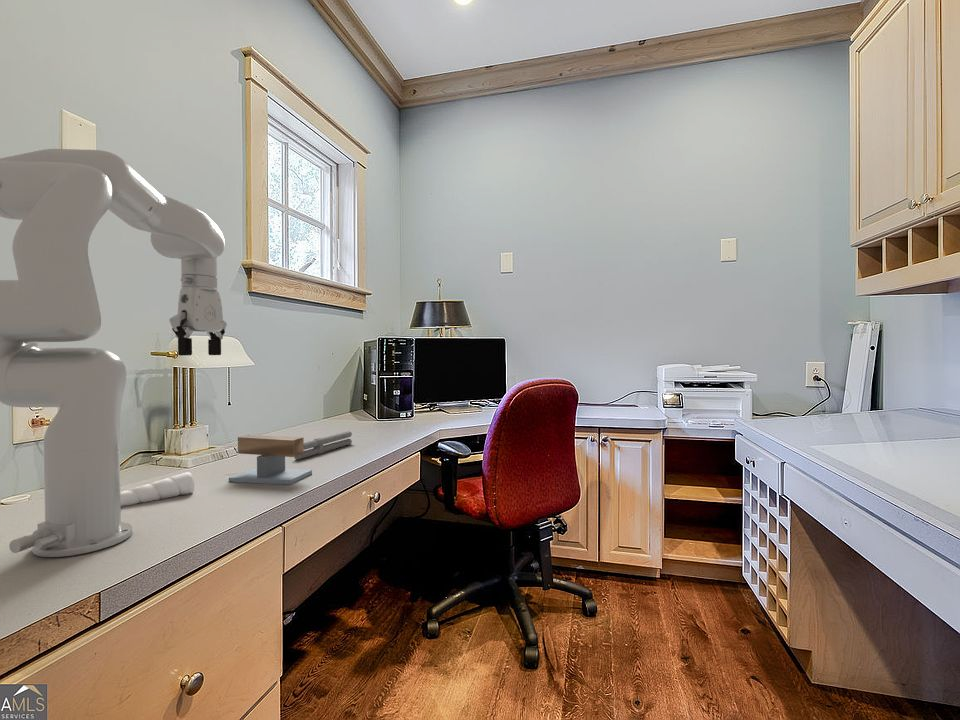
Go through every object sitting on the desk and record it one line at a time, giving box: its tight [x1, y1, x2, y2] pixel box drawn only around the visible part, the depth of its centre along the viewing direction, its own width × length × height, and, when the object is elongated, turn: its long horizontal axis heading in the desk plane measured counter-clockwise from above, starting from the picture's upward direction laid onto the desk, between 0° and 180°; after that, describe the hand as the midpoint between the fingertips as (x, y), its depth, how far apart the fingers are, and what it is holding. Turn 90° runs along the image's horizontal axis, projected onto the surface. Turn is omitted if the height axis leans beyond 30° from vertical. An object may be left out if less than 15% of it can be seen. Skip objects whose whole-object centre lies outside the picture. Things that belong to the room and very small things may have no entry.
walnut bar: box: [237, 434, 305, 458], centre depth 119 cm, size 4×16×4 cm, turn 74°
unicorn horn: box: [120, 471, 195, 507], centre depth 99 cm, size 5×24×5 cm, turn 133°
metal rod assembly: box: [293, 430, 353, 461], centre depth 150 cm, size 26×3×5 cm, turn 160°
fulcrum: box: [228, 455, 313, 485], centre depth 119 cm, size 10×16×6 cm, turn 80°
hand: (200, 355), depth 117 cm, fingers open, 9 cm apart
